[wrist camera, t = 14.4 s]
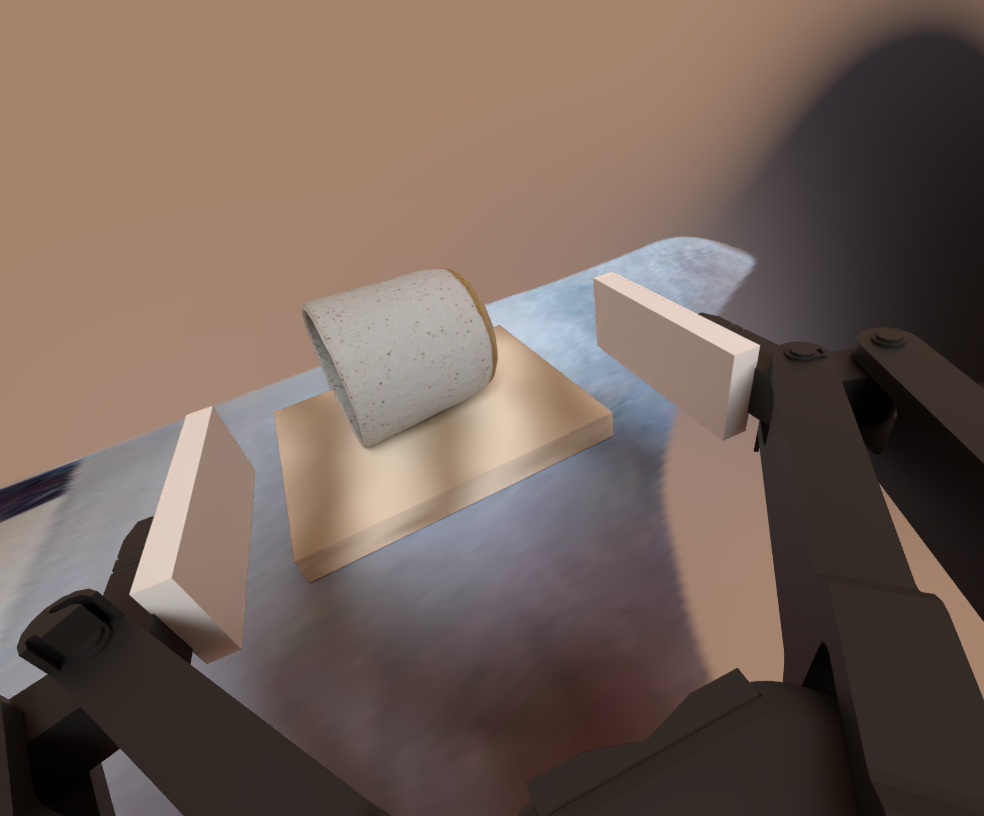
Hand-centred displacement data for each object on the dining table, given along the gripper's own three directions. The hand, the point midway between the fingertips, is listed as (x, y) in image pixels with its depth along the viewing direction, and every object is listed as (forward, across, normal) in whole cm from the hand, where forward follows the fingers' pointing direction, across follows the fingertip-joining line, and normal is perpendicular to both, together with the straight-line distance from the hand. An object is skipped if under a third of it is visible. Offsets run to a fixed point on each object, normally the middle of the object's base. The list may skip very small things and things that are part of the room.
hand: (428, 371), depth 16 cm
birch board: (+8, 0, -8) cm, 12 cm away
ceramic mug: (+10, -1, -7) cm, 12 cm away
